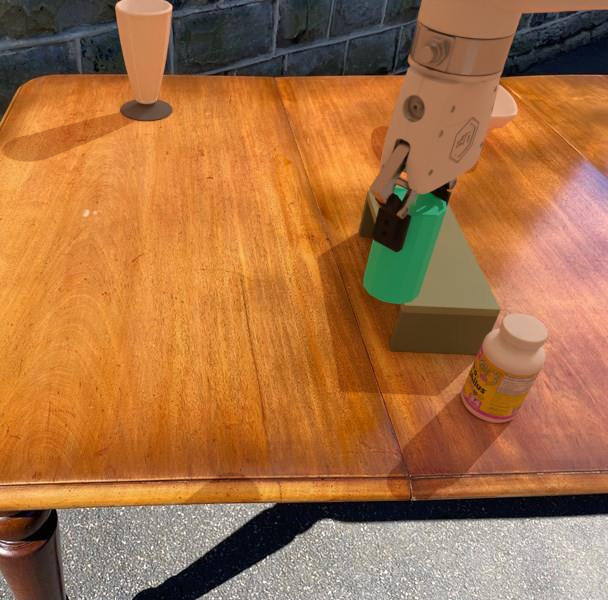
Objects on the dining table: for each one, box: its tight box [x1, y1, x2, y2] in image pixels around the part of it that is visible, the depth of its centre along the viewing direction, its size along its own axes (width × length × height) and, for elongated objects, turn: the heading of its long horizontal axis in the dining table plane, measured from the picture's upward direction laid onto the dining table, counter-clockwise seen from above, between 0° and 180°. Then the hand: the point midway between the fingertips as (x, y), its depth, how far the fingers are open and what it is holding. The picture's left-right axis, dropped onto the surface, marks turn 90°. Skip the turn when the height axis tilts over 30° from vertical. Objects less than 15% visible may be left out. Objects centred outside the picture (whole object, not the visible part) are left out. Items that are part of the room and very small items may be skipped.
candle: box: [362, 186, 447, 305], centre depth 64 cm, size 6×6×12 cm
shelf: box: [357, 189, 502, 356], centre depth 92 cm, size 28×12×8 cm, turn 178°
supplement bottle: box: [460, 312, 549, 424], centre depth 73 cm, size 7×7×13 cm
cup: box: [114, 0, 173, 122], centre depth 132 cm, size 12×12×22 cm
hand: (406, 231), depth 63 cm, fingers closed on candle, 5 cm apart
